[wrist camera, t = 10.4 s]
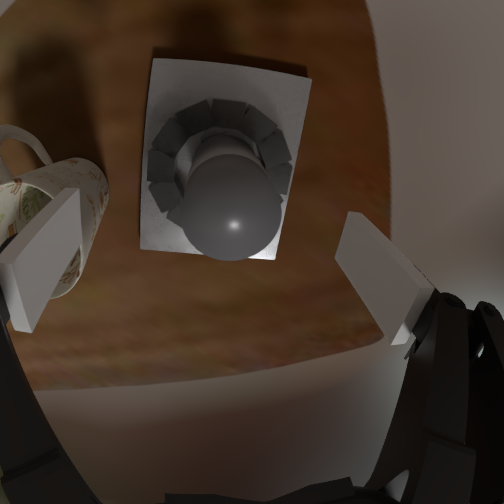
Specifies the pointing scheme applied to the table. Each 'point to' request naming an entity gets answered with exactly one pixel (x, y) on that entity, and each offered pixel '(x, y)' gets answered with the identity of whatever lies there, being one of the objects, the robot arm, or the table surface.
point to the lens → (229, 201)
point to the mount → (211, 124)
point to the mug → (44, 190)
